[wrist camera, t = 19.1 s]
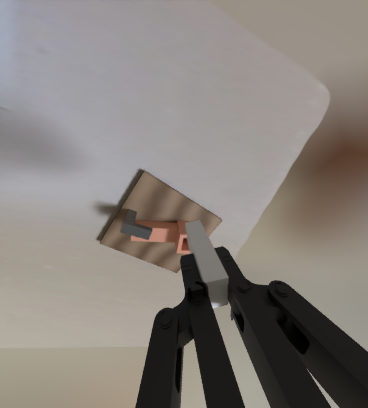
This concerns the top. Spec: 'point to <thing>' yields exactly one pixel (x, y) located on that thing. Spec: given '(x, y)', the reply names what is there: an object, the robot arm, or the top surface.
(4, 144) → the top surface
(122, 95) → the top surface
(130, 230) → the bracket
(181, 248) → the link
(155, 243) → the board
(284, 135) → the top surface
